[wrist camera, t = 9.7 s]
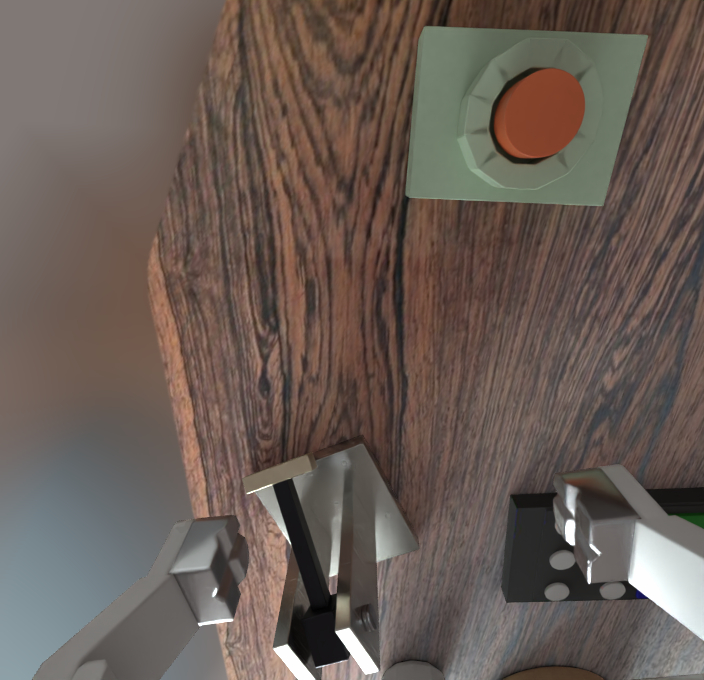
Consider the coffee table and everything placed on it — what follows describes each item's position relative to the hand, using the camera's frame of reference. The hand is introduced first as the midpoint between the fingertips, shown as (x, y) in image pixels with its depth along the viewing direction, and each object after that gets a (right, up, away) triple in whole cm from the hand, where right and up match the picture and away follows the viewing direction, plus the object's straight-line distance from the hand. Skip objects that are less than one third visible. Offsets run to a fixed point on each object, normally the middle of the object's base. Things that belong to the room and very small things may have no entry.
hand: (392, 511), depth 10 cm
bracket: (-2, -10, +24) cm, 26 cm away
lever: (-4, -10, +17) cm, 20 cm away
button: (+8, +15, +10) cm, 20 cm away
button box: (+8, +17, +13) cm, 23 cm away
